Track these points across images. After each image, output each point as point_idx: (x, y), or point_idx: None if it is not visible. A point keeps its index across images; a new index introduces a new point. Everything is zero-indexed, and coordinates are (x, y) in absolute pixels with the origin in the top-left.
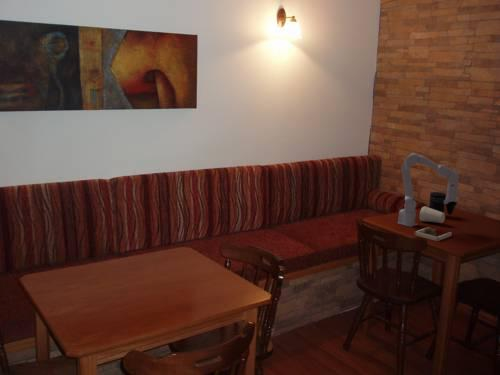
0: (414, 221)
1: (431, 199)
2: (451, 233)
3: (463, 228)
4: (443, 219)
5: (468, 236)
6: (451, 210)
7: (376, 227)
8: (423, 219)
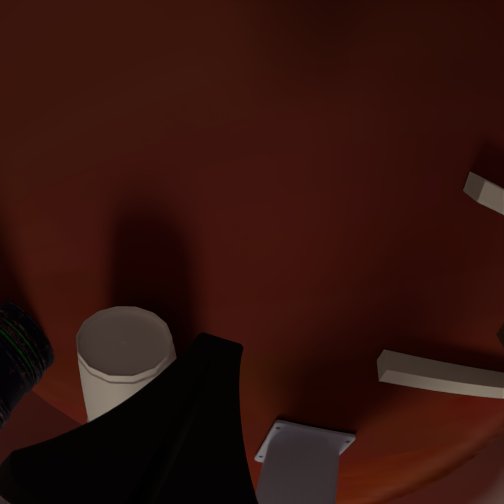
0: (309, 451)
1: (2, 425)
2: (484, 180)
3: (112, 123)
4: (106, 317)
5: (383, 10)
6: (238, 409)
7: (425, 485)
8: None
